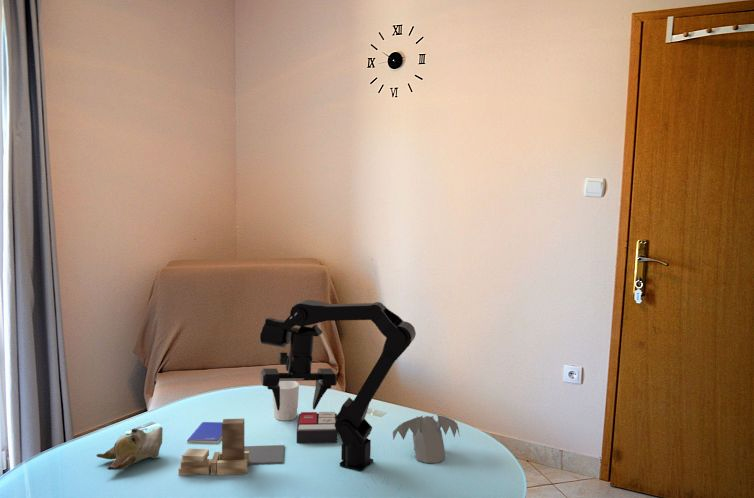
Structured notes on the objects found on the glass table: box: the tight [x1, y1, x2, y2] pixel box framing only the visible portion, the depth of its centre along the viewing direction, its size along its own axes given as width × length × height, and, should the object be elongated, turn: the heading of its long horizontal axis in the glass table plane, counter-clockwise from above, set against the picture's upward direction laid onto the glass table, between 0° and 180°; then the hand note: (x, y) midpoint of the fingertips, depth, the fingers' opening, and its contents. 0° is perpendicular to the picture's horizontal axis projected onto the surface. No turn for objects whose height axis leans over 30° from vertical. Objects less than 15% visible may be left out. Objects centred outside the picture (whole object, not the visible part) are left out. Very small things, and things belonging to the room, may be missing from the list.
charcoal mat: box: [244, 444, 285, 465], centre depth 153 cm, size 12×10×1 cm
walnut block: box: [221, 418, 245, 460], centre depth 145 cm, size 5×3×12 cm, turn 97°
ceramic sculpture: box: [96, 426, 163, 471], centre depth 147 cm, size 11×9×15 cm
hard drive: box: [186, 421, 223, 445], centre depth 166 cm, size 2×8×12 cm
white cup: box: [272, 381, 300, 422], centre depth 179 cm, size 8×8×10 cm
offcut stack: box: [177, 448, 212, 476], centre depth 144 cm, size 7×6×4 cm
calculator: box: [296, 411, 339, 444], centre depth 168 cm, size 11×4×15 cm
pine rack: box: [210, 451, 250, 476], centre depth 145 cm, size 8×6×3 cm
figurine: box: [392, 414, 460, 464], centre depth 155 cm, size 18×13×11 cm
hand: (296, 409), depth 151 cm, fingers open, 9 cm apart
